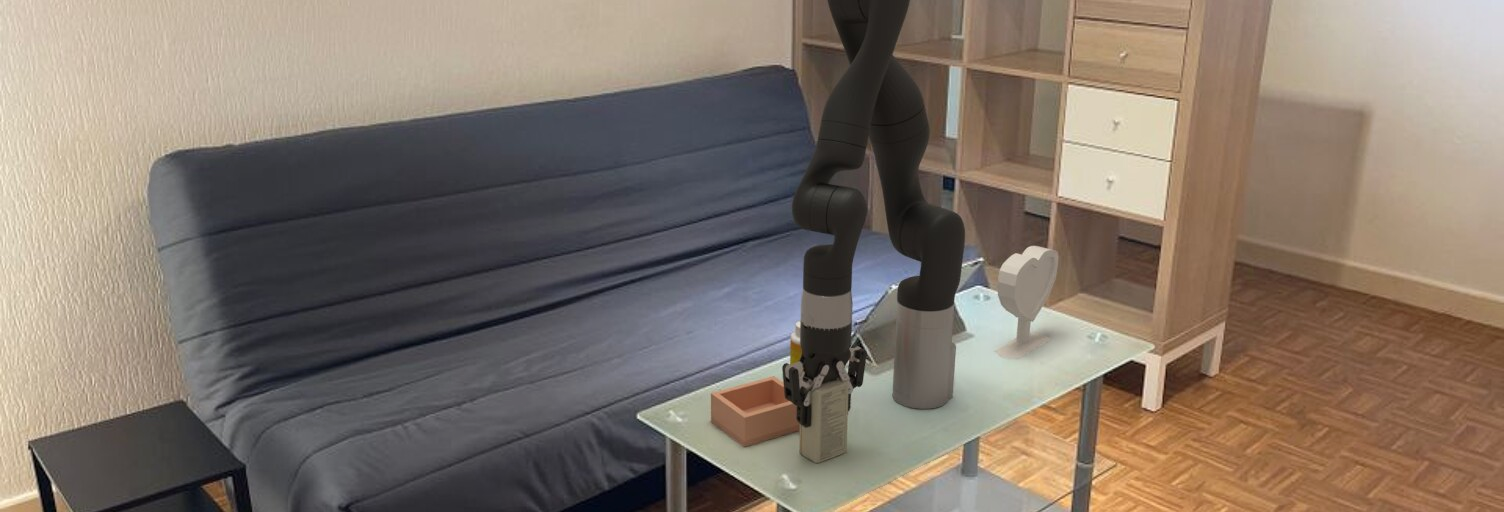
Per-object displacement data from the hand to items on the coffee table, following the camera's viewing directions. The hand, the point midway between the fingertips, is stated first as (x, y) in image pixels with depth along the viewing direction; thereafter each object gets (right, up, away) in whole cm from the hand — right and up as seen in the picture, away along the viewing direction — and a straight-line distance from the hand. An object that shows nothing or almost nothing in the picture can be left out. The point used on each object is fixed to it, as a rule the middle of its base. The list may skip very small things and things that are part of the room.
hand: (823, 419), depth 186 cm
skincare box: (0, -6, +2) cm, 6 cm away
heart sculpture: (+39, +8, +41) cm, 57 cm away
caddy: (-9, -2, +11) cm, 15 cm away
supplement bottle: (-1, +3, +27) cm, 27 cm away
